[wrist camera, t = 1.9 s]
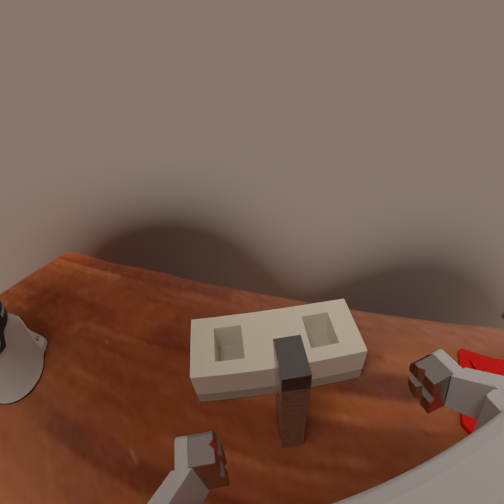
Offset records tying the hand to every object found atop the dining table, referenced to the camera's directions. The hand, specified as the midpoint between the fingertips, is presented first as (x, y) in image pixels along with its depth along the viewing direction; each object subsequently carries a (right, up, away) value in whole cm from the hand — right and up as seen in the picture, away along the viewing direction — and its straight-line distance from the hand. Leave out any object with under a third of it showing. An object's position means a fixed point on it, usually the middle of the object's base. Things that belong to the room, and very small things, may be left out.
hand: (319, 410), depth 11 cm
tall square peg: (+2, -16, +24) cm, 29 cm away
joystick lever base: (+1, -10, +33) cm, 35 cm away
